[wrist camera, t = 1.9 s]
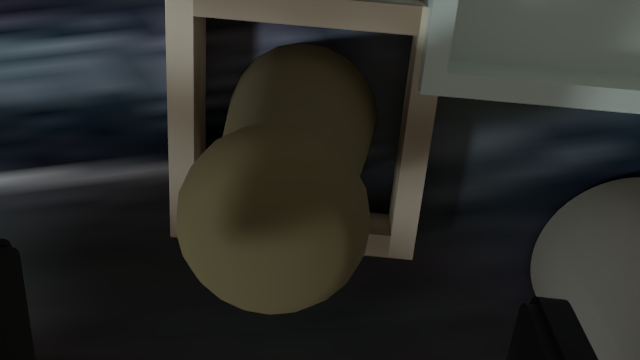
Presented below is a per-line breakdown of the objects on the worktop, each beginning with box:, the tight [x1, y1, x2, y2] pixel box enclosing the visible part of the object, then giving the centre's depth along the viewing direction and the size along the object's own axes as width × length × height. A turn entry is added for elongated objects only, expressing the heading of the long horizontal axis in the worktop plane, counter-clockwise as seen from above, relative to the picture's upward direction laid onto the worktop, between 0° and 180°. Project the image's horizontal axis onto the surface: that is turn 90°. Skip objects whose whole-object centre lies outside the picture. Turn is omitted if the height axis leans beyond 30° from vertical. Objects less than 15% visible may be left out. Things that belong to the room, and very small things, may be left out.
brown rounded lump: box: [176, 43, 377, 315], centre depth 20 cm, size 6×6×11 cm
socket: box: [165, 0, 438, 260], centre depth 24 cm, size 10×10×2 cm
